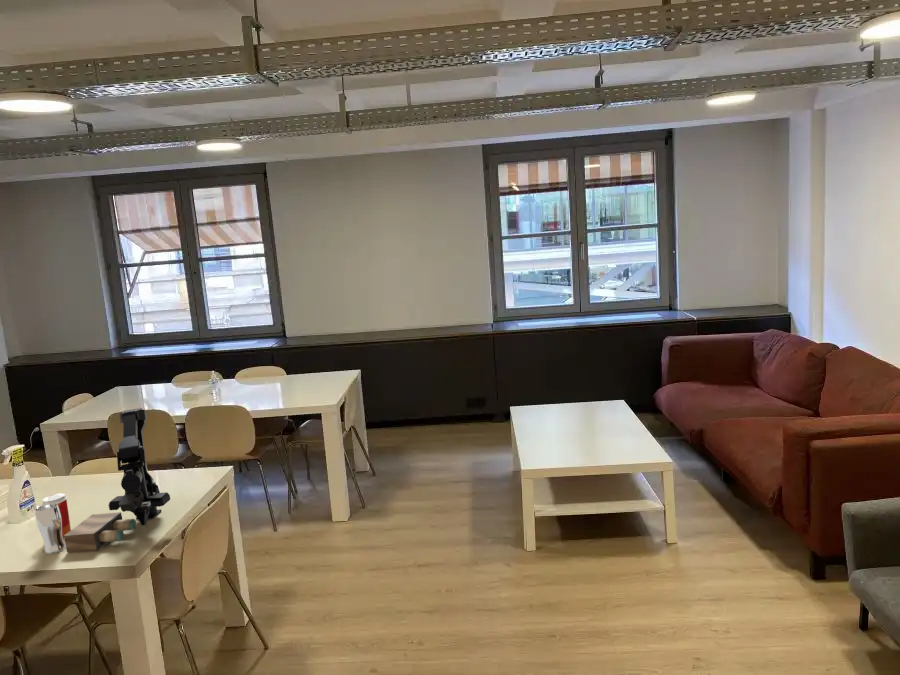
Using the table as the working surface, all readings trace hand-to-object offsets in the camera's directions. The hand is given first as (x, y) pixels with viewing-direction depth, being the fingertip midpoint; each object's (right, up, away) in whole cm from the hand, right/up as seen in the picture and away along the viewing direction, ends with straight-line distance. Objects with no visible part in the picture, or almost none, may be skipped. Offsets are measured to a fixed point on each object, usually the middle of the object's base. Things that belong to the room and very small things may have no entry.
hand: (144, 525), depth 229 cm
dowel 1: (-8, -3, -7) cm, 12 cm away
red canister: (-30, -5, +5) cm, 31 cm away
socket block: (-15, -5, -2) cm, 16 cm away
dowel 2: (-8, -2, +1) cm, 8 cm away
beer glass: (-26, -7, -6) cm, 28 cm away
